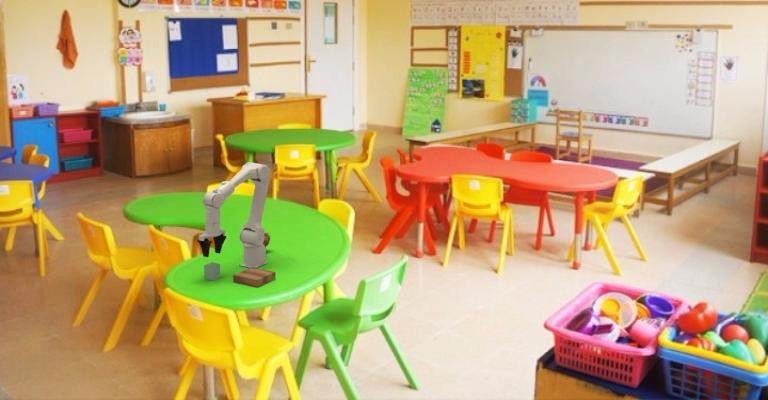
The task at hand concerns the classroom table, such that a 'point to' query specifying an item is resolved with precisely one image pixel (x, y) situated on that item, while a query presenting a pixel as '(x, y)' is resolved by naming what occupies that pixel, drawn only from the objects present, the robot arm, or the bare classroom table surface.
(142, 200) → the classroom table surface
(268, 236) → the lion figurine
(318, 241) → the classroom table surface
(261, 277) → the walnut base
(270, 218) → the classroom table surface
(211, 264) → the teal block
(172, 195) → the classroom table surface
